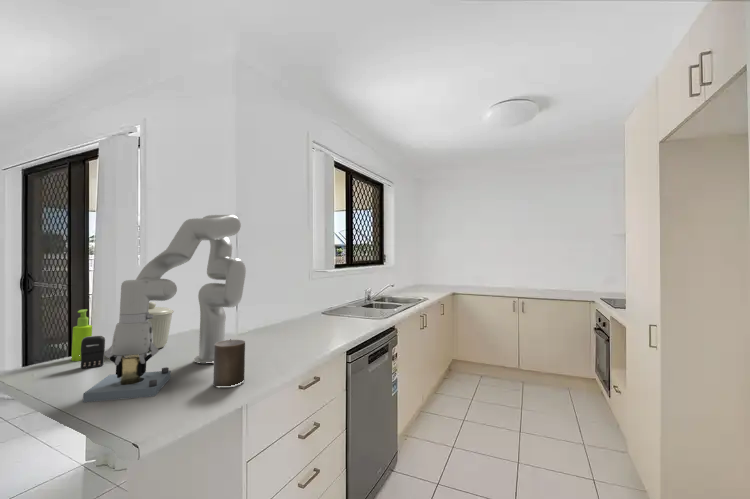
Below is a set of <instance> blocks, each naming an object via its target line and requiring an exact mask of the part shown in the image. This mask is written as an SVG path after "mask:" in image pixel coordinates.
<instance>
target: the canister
mask: <svg viewBox="0 0 750 499" xmlns="http://www.w3.org/2000/svg"><path fill="white" fill-rule="evenodd" d="M156 305H157V304H156V302H155V301H149V311H148V312H149V314H151V315H153V319H149V320H148V321H150V322H151V324H152V332H153V344H154V345H155V346H156V347H157V349H158V350H159V349H162V348H163V347H165V346H167V343H168V339H169V334H170V330H171V329H170V328H171V322H172V315H173V313H174V312H175V310H173V309H171V308H169V307H164V306H163V307H161V306H156Z"/></svg>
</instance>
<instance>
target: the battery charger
mask: <svg viewBox="0 0 750 499" xmlns="http://www.w3.org/2000/svg"><path fill="white" fill-rule="evenodd" d="M105 350H106V337H105V336H104V335H92V336H89V337H85V338H83V340H82V342H81V361H80V368H81V369H89V368H90V369H91V368H97V367H102V366H103V365H104V364H105V355H104V353H105V352H106V351H105Z"/></svg>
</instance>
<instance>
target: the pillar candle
mask: <svg viewBox="0 0 750 499" xmlns="http://www.w3.org/2000/svg"><path fill="white" fill-rule="evenodd" d="M245 354H246V341H245V340H244V339H231V338H230V339H227V340H226V339H225V341H221V342H217V343H215V351H214V363H213V381H212V383H213V384H214V385H215V386H231V385H235V384H238V383H240V382H242V381H243V380H244V381H245V366H246V364H245V362H246V360H245V359H246V358H245V357H246V355H245ZM214 385H213V386H214Z"/></svg>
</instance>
